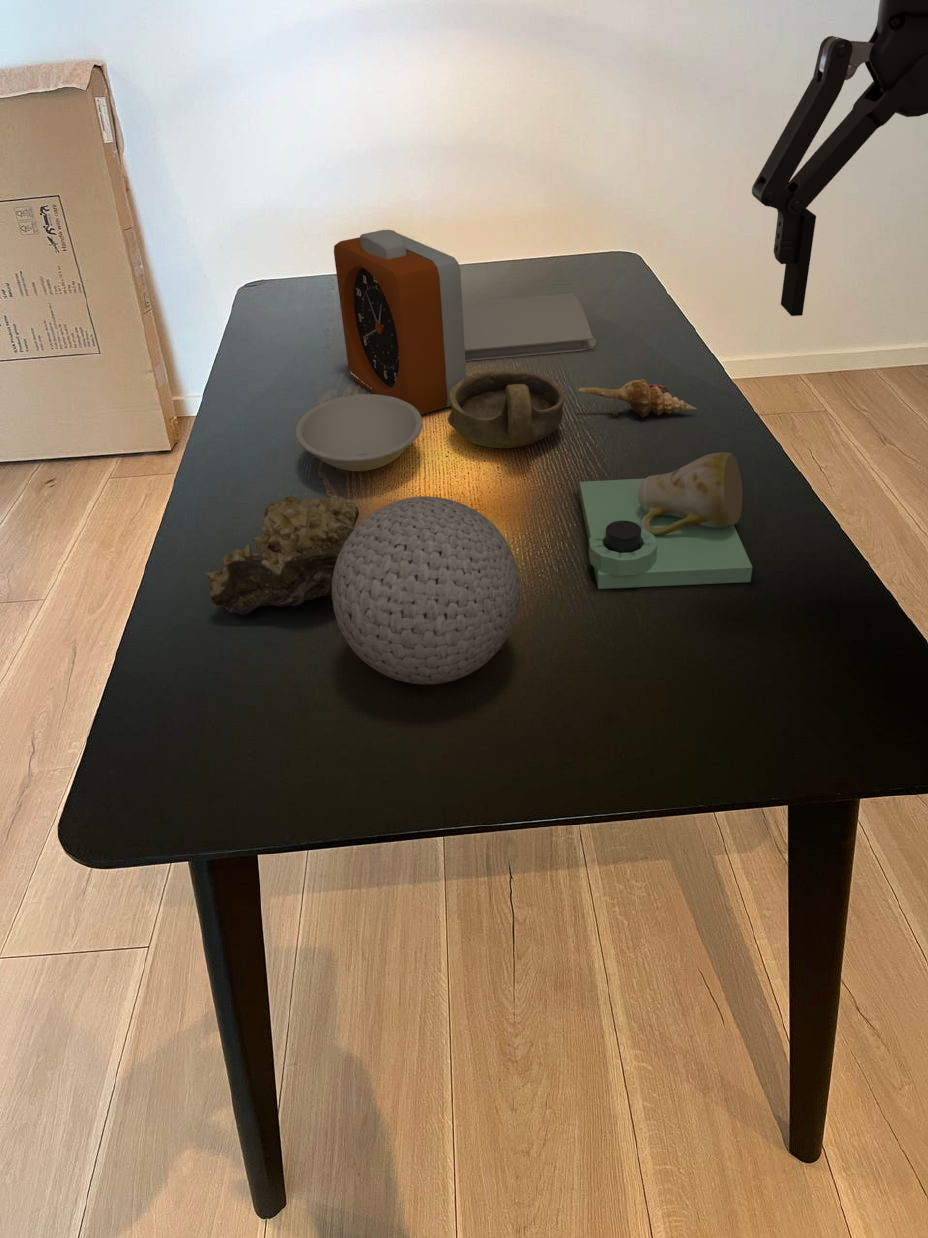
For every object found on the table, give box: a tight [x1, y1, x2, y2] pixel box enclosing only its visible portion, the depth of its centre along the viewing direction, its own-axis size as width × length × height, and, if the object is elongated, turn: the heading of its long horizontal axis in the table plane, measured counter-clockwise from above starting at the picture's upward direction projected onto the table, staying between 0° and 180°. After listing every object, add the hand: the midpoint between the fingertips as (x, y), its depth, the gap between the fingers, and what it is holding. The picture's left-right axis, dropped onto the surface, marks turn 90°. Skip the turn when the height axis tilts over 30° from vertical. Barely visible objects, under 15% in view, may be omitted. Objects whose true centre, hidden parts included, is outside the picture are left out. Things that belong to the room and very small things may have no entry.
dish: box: [295, 393, 424, 472], centre depth 112 cm, size 18×14×5 cm
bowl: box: [447, 369, 565, 449], centre depth 112 cm, size 14×18×10 cm
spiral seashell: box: [577, 378, 697, 418], centre depth 119 cm, size 14×5×4 cm, turn 101°
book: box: [462, 292, 597, 362], centre depth 143 cm, size 15×23×4 cm, turn 96°
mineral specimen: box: [204, 495, 360, 616], centre depth 90 cm, size 14×13×10 cm
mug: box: [638, 452, 743, 535], centre depth 94 cm, size 8×10×10 cm
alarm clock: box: [333, 229, 467, 416], centre depth 124 cm, size 18×9×21 cm, turn 31°
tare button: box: [605, 521, 641, 553], centre depth 90 cm, size 3×3×2 cm
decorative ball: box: [331, 496, 521, 685], centre depth 78 cm, size 15×15×15 cm
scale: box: [578, 477, 753, 590], centre depth 96 cm, size 18×15×4 cm
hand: (889, 304), depth 68 cm, fingers open, 13 cm apart
